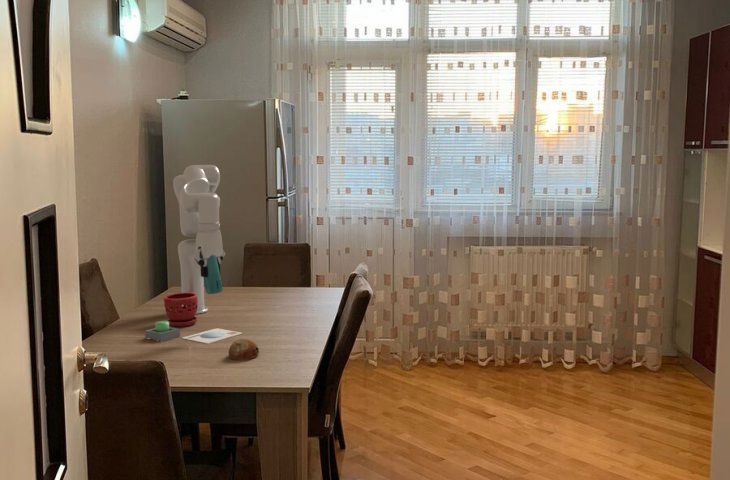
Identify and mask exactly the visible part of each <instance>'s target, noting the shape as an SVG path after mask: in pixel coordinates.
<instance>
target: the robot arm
mask: <svg viewBox="0 0 730 480" xmlns="http://www.w3.org/2000/svg"><path fill="white" fill-rule="evenodd" d="M220 182H221V174H220V170H219V168H218V167H217V166H216V165H214V164H192V165H189V166H187V167H186V168H185V169H184V171H183V174H180V175H176V176H175V177H174V178H173V182H172V183H173V184H172V185H173V191H174V194H175V197H176V198H177V202H178V206H179V223H180V231H181V234H182V235H183V236H184V237H196V238H192V239H184V240H182V241H180V242H179V243H178V245H177V253H178V259H179V264H180V266H179V267H180V285H181V293H195V294H197V299H198V306H197V312H196V315H198V314H203V313H206V312H208V311H209V307H208V306H206V305H205V283H204V278H203V277H208V267H207V266H206V265H207V259H208V258H209V257H210V256H211V255H216V258H217V263H218V267H219V272H220V273H221V265H222V261H223V259H224V257H225V256H226V252H225V250H224V248H223V239H222V238H223V237H222V232H221V230H220V227H221V223H220V207H221V199H220V198H221V197H219V196H218V194H217V193H215V192H216V190H217V188H218V186H219V185H220ZM200 256H201V257H202V256H203V259H204V262H203V261H202V260H201V257H200ZM199 257H200V258H199ZM183 306H184V305H182V307H183ZM186 307H187V306H186Z"/></svg>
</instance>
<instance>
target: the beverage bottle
mask: <svg viewBox="0 0 730 480" xmlns="http://www.w3.org/2000/svg"><path fill="white" fill-rule="evenodd" d="M200 257H201V256H200ZM200 257H199V258H200ZM201 260H202V261H203V262H204V259H203V256H202V257H201ZM206 266H207V267H208V277H203V278H204V291H205V293H206V294H207V295H215V294H219V293H222V292H223V290H224V286H223V282H222V278H221V271H220V272H219V267H218V263H217V258H216V255H211V256H210V257H209V258H208V259H207V265H206Z"/></svg>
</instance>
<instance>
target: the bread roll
mask: <svg viewBox="0 0 730 480" xmlns="http://www.w3.org/2000/svg"><path fill="white" fill-rule="evenodd" d="M259 354H260V351H259V346H258V344H256V343H255V342H254V341H252V340H250V339H246V338H238V339H236V340H235V341H233V342H232V343H231V345H230V346H229V350H228V357H229V358H230V359H231V360H232V359H233V360H234V361H247V360H252V359H256V358H258V355H259Z"/></svg>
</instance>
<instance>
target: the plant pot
mask: <svg viewBox="0 0 730 480" xmlns="http://www.w3.org/2000/svg"><path fill="white" fill-rule="evenodd" d="M163 303H164V304H163V305H164V309H165V313H166V315H167V317H168V320H167V321H168V322H169V326H172V327H179V328H180V327H181V328H182V327H188V326H191V325H194V324H195V323H197V322H198V317H196V315H197V314H196V312H197V306H198V299H197V294H195V293H182V292H178V293H171V294H168V295H165V296H164V297H163ZM182 305H184V306H183V307H182ZM186 306H187V307H186Z"/></svg>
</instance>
